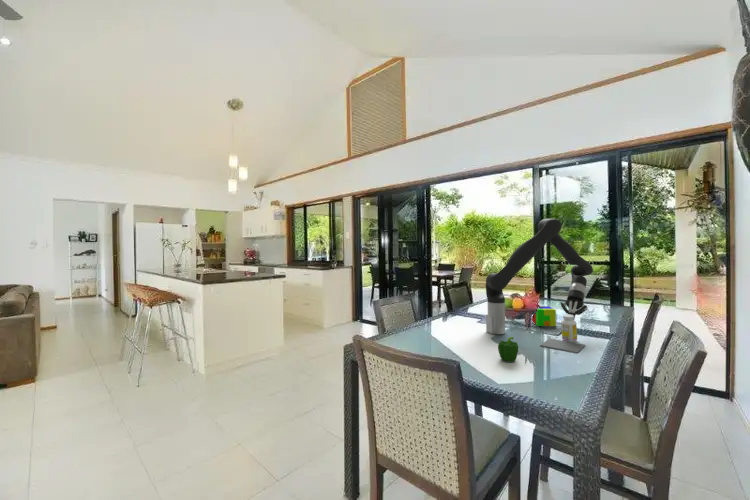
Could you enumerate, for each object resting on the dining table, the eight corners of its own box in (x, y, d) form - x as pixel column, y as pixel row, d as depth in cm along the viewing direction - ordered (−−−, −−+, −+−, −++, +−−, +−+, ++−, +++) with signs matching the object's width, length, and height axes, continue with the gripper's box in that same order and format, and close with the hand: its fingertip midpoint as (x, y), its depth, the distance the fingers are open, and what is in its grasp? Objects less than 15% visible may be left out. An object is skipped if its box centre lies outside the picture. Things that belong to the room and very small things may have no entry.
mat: (549, 339, 174) (549, 338, 174) (585, 345, 163) (585, 344, 163) (540, 346, 164) (540, 345, 164) (577, 353, 153) (577, 352, 153)
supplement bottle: (575, 337, 174) (574, 313, 172) (578, 342, 168) (577, 317, 166) (560, 337, 176) (560, 313, 174) (563, 342, 170) (562, 317, 168)
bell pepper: (502, 364, 142) (502, 340, 142) (495, 357, 151) (495, 335, 150) (522, 363, 143) (522, 340, 142) (514, 356, 151) (513, 334, 150)
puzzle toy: (548, 322, 208) (548, 306, 208) (555, 326, 198) (555, 309, 198) (532, 322, 209) (531, 306, 209) (538, 326, 199) (538, 309, 199)
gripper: (561, 288, 184) (555, 314, 176) (589, 290, 175) (584, 317, 167) (564, 296, 188) (558, 322, 180) (592, 298, 179) (586, 326, 171)
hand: (570, 320), depth 173 cm, fingers closed
